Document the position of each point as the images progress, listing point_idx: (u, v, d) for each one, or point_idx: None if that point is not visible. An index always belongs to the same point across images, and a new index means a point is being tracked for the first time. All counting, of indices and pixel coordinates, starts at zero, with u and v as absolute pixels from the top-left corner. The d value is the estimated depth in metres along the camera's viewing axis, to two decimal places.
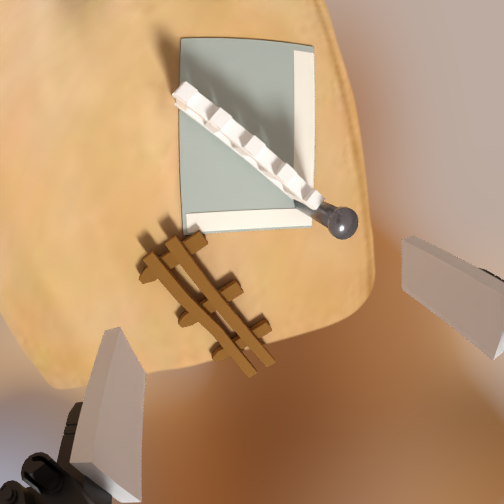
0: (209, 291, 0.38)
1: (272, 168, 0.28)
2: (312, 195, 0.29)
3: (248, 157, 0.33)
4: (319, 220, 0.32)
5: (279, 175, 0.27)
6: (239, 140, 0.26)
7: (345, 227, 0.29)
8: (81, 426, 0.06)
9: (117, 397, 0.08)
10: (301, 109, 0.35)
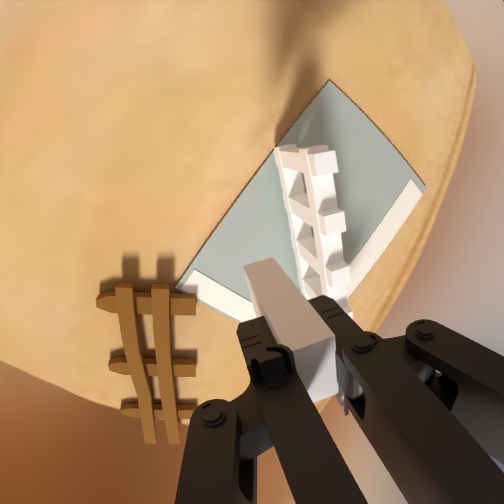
0: (163, 359, 0.29)
1: None
2: None
3: (303, 261, 0.28)
4: None
5: None
6: (328, 257, 0.21)
7: None
8: (279, 325, 0.09)
9: None
10: (375, 241, 0.31)
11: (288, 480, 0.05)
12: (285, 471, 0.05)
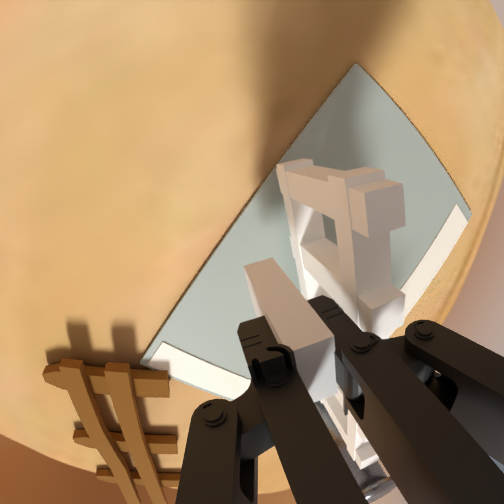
0: (135, 442, 0.19)
1: None
2: (373, 456, 0.14)
3: None
4: None
5: None
6: None
7: (374, 497, 0.14)
8: (279, 325, 0.09)
9: None
10: (409, 288, 0.22)
11: (289, 480, 0.05)
12: (286, 471, 0.05)
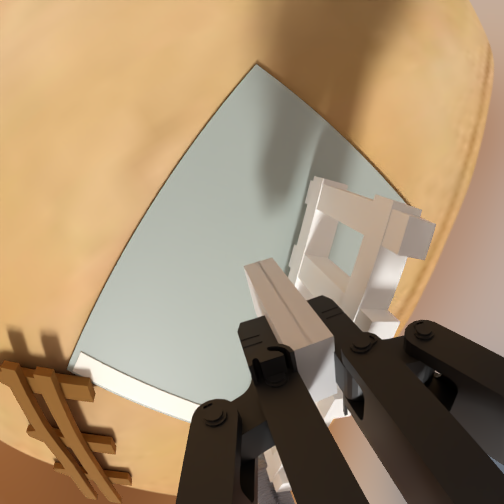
0: (72, 439, 0.19)
1: None
2: None
3: None
4: None
5: None
6: None
7: None
8: (280, 325, 0.09)
9: None
10: None
11: (289, 479, 0.05)
12: (286, 470, 0.05)
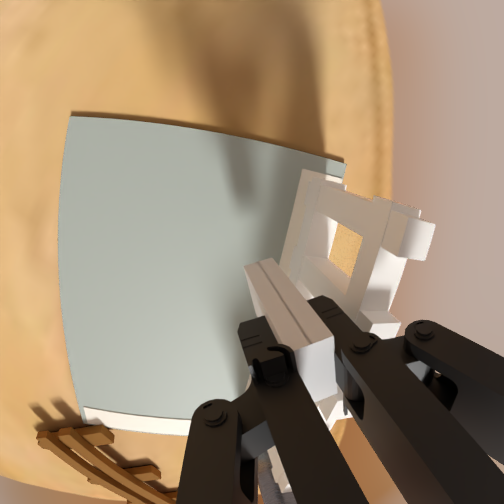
0: (117, 477, 0.22)
1: None
2: None
3: None
4: (260, 489, 0.17)
5: None
6: None
7: None
8: (280, 325, 0.09)
9: None
10: None
11: (289, 479, 0.05)
12: (286, 470, 0.05)
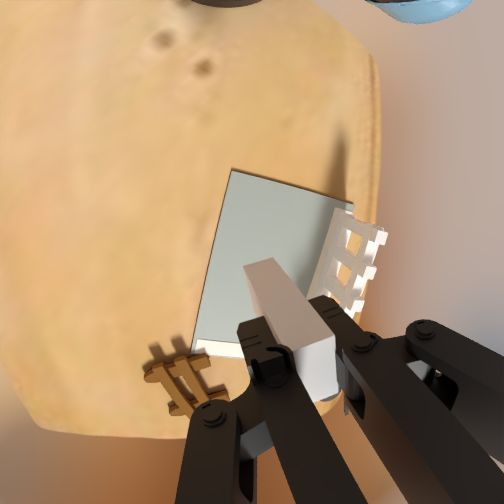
0: (202, 399, 0.40)
1: None
2: None
3: (323, 291, 0.38)
4: None
5: None
6: (354, 291, 0.32)
7: None
8: (279, 325, 0.09)
9: None
10: (322, 267, 0.40)
11: (288, 480, 0.05)
12: (285, 471, 0.05)
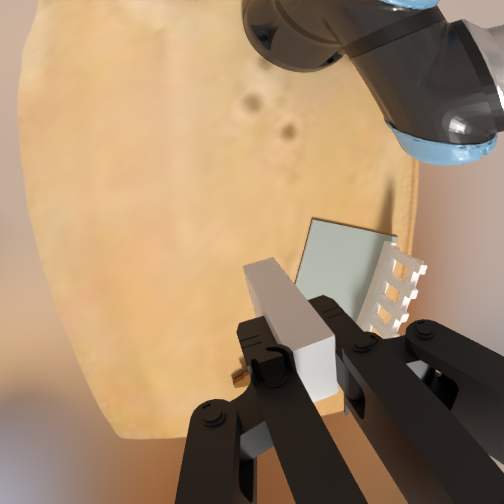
0: None
1: (392, 330, 0.43)
2: None
3: (375, 305, 0.48)
4: None
5: None
6: (402, 307, 0.41)
7: None
8: (279, 325, 0.09)
9: None
10: (373, 286, 0.49)
11: (288, 480, 0.05)
12: (285, 471, 0.05)
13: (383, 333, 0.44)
